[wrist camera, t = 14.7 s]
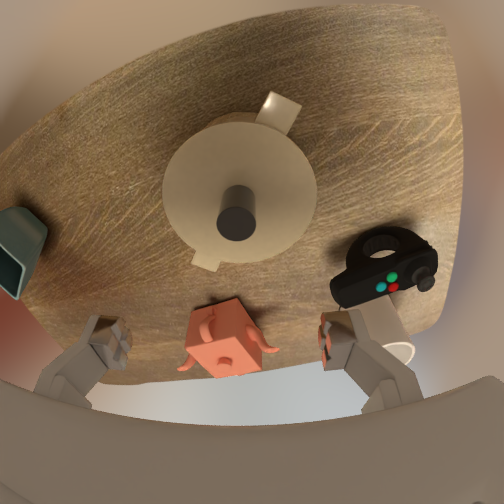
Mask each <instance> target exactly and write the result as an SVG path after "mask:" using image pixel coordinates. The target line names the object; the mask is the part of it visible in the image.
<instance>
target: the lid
mask: <svg viewBox="0 0 504 504" xmlns="http://www.w3.org/2000/svg"><path fill="white" fill-rule="evenodd" d="M162 200H163V205H164V210H165V213H166V216H167V218H168V220H169V222H170V224H171V226H172V227H173V229H174V230H175V232H176V233H177V234H178V235H179V237H180V238H181V239H182V240H183V241H184V242H185V243H186V244H188V245H189V246H190V247H192V248H193V249H194V250H196V251H198V252H199V253H201V254H203V255H205V256H208V257H210V258H213V259H216V260H219V261H224V262H230V263H251V262H257V261H262V260H266V259H268V258H271V257H274V256H276V255H278V254H280V253H282V252H283V251H285V250H287V249H288V248H289V247H291V246H292V245H293V244H294V243H296V241H297V240H298V239H299V238H300V237H301V236H302V235H303V234H304V232H305V231H306V230H307V228H308V226H309V224H310V222H311V220H312V218H313V215H314V213H315V209H316V204H317V184H316V179H315V175H314V172H313V169H312V167H311V165H310V163H309V161H308V159H307V157H306V156H305V154H304V153H303V152H302V150H301V149H300V148H299V147H298V146H297V145H296V144H295V143H294V142H293V141H292V140H291V139H290V138H288V137H287V136H286V135H284V134H283V133H281V132H279V131H277V130H276V129H274V128H271V127H269V126H266V125H263V124H259V123H255V122H248V121H229V122H223V123H218V124H215V125H212V126H209V127H207V128H205V129H203V130H201V131H199V132H197V133H196V134H194V135H193V136H191V137H190V138H189V139H188V140H186V141H185V142H184V143H183V144H182V145H181V146H180V147H179V149H178V150H177V151H176V152H175V154H174V155H173V157H172V158H171V160H170V162H169V164H168V166H167V168H166V171H165V174H164V178H163V185H162Z"/></svg>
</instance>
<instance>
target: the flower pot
mask: <svg viewBox="0 0 504 504" xmlns="http://www.w3.org/2000/svg"><path fill="white" fill-rule="evenodd" d="M47 231H48V229H47V227H46V226H45V225H44V224H43V223H42V222H41V221H40V220H38V219H37V218H36V217H35V216H34V215H33V214H32V213H31V212H30V211H29V210H28V209H27V208H24V207H10V208H6V209H4V210H2V211H0V286H1V287H2V288H3V289H4V290H5V291H6V292H7V293H8V294H9V295H11V296H12V297H13V298H14V299H15V300H18V299H19V297H20V296H21V294H22V292H23V290H24V288H25V287H26V285H27V283H28V281H29V280H30V278H31V276H32V274H33V272H34V270H35V267H36V264H37V261H38V258H39V256H40V253H41V250H42V247H43V245H44V242H45V240H46V236H47Z"/></svg>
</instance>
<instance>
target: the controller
mask: <svg viewBox="0 0 504 504" xmlns="http://www.w3.org/2000/svg"><path fill="white" fill-rule="evenodd" d="M383 250H392V251H395V252H394V253H393V254H391V255H388V256H386V257H382V258H371V257H370V256H371V255H373V254H374V253H376V252H379V251H383ZM346 267H347V269H346V270H345V271H343V272H342V273H340V274H339V275H337V276H335V277H334V278H333V279H332V280H331V281H330V290H331V294H332V296H333V298H334V300H335V301H336V302H337V303H338V304H339V305H340V306H341V307H342V308H344V309H348V308H351V307H354V306H357V305H360V304H363V303H365V302H368V301H371V300H374V299H376V298H379V297H382V296H385V295H387V294H390V293H393V292H395V291H398V290H406V289H408V288H410V287H413V286H415V285H417V288H418V290H419V291H420V292H426V291H428V290H430V289H431V288H432V287H433V285H434V283H435V278H434V275H435V273H436V272H437V268H438V254H437V251H436V250H435V249H433V248H432V246H430V245H429V244H428V242H427V241H425V240H423V239H422V238H421V237H420V236H418V235H417V234H416V233H414V232H412V231H411V230H408V229H405V228H402V227H395V226H390V227H380V228H376V229H373V230H371V231H368V232H366V233H365V234H363V235H362V236H360V237H359V238H358V239H357V240H355V241H354V242H353V244H352V245H351V246H350V248H349V250H348V252H347V256H346Z"/></svg>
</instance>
